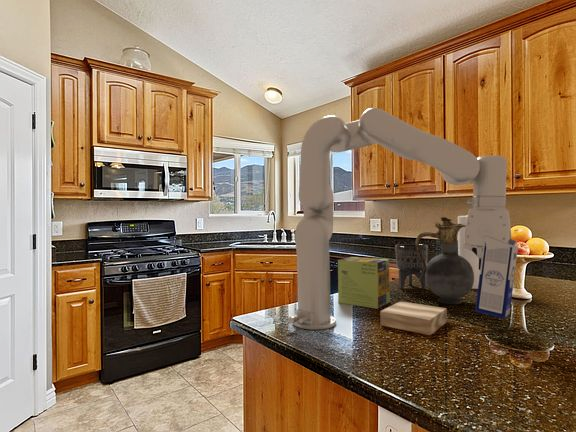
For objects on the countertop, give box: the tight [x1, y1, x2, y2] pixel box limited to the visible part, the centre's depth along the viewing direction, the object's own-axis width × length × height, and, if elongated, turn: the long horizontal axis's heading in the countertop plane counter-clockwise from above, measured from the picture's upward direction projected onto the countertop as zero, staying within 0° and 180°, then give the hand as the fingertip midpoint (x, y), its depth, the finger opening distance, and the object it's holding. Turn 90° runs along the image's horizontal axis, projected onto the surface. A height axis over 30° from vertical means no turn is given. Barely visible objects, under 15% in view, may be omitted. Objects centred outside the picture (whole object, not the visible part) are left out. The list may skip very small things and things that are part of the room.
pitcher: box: [415, 216, 474, 305], centre depth 129 cm, size 11×19×30 cm, turn 60°
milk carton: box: [474, 236, 519, 320], centre depth 94 cm, size 7×7×20 cm
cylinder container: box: [457, 214, 480, 290], centre depth 153 cm, size 9×9×30 cm
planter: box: [394, 243, 429, 290], centre depth 153 cm, size 13×13×18 cm
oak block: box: [379, 300, 448, 336], centre depth 105 cm, size 14×14×4 cm
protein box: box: [337, 256, 391, 310], centre depth 130 cm, size 10×15×16 cm
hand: (486, 273), depth 96 cm, fingers closed on milk carton, 1 cm apart
